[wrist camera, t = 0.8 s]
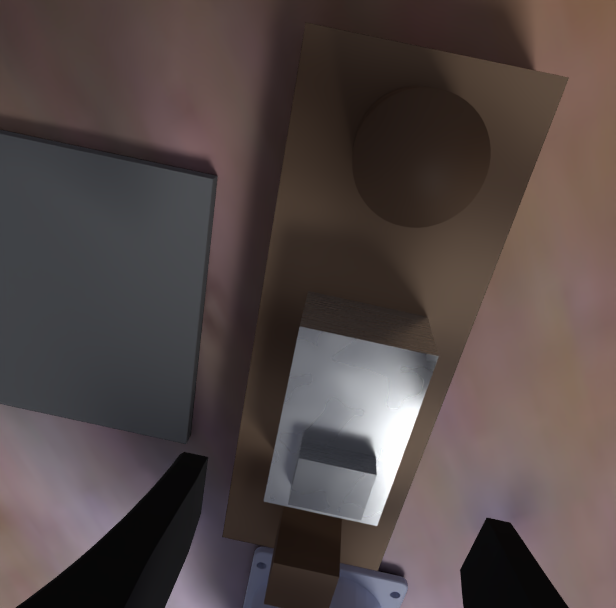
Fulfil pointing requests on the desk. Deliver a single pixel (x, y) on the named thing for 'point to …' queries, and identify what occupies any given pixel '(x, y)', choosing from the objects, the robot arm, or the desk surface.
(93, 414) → the mat
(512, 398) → the desk surface
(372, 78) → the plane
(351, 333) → the lever cap
